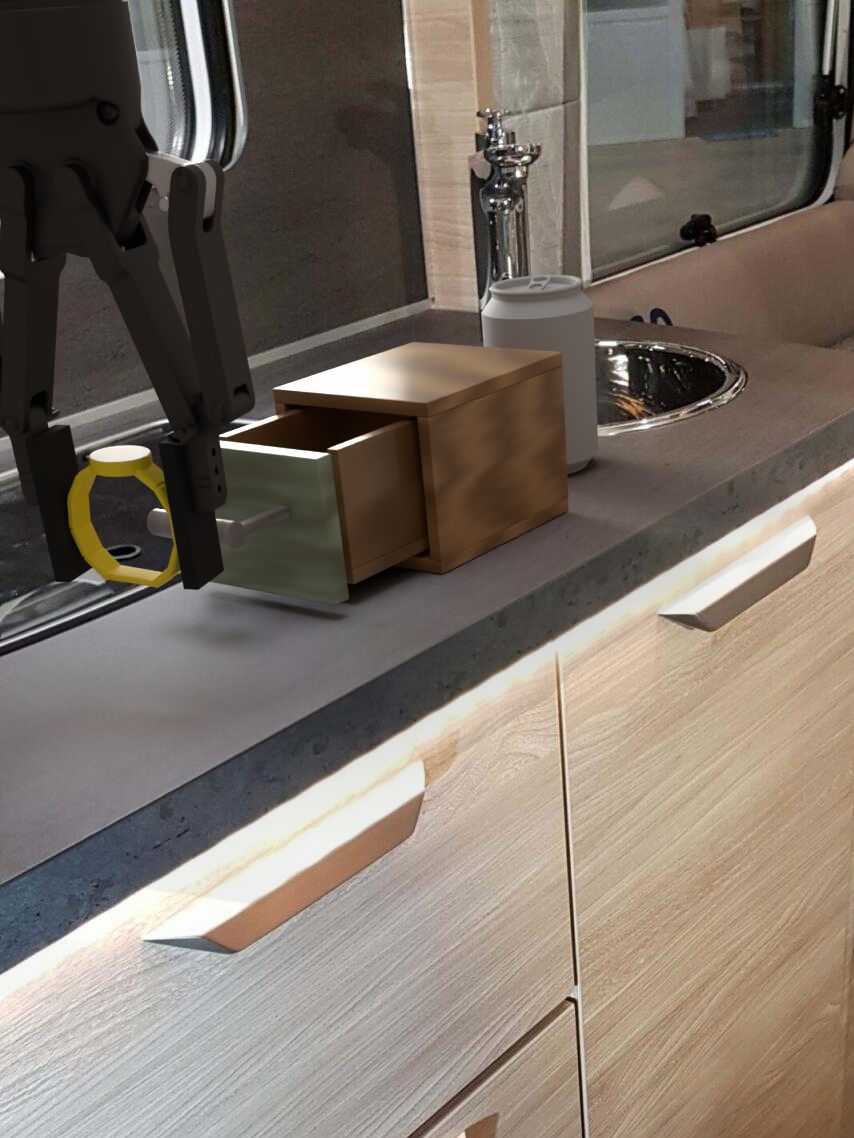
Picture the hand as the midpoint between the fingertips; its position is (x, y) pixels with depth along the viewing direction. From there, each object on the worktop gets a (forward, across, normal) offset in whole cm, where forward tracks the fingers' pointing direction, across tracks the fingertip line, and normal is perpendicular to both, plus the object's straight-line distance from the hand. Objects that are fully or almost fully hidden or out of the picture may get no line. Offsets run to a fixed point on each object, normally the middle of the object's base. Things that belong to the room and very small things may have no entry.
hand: (139, 575), depth 73 cm
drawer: (+6, 0, -18) cm, 18 cm away
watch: (0, 0, 0) cm, 0 cm away
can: (+7, -7, -44) cm, 45 cm away
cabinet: (+7, -4, -29) cm, 30 cm away
